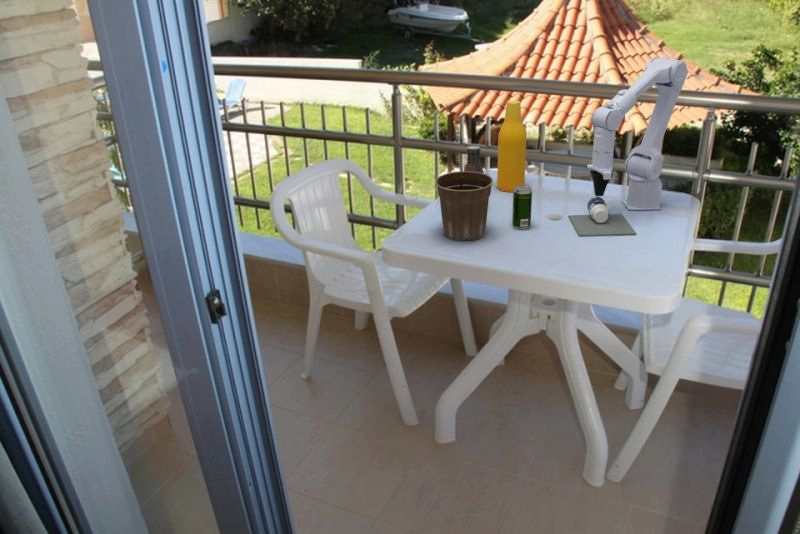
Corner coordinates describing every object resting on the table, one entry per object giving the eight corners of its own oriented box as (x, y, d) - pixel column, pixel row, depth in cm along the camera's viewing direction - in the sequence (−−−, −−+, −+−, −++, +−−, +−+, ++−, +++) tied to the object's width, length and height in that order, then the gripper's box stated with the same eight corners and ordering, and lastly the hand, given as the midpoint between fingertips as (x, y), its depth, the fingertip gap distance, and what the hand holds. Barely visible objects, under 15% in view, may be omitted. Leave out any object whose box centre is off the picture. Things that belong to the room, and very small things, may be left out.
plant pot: (476, 248, 189) (477, 193, 182) (425, 238, 197) (424, 184, 190) (501, 228, 201) (503, 175, 194) (452, 219, 209) (452, 168, 202)
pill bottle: (607, 199, 205) (614, 211, 198) (599, 214, 208) (605, 227, 200) (591, 193, 205) (597, 206, 197) (583, 208, 207) (588, 221, 200)
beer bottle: (496, 183, 237) (498, 99, 224) (523, 183, 236) (527, 98, 224) (497, 192, 229) (499, 105, 216) (525, 192, 228) (529, 104, 215)
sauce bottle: (482, 213, 212) (483, 150, 204) (462, 212, 214) (462, 150, 205) (483, 205, 218) (484, 144, 210) (464, 205, 219) (464, 144, 211)
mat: (622, 215, 207) (622, 213, 206) (636, 235, 193) (636, 233, 193) (568, 216, 207) (568, 215, 207) (578, 236, 194) (579, 234, 193)
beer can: (534, 228, 200) (535, 189, 195) (517, 231, 199) (519, 191, 194) (524, 221, 205) (526, 183, 200) (508, 224, 203) (510, 186, 198)
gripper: (583, 143, 202) (580, 187, 208) (594, 158, 189) (590, 204, 195) (607, 143, 202) (603, 186, 208) (620, 157, 189) (615, 203, 195)
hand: (599, 195), depth 202 cm, fingers closed
